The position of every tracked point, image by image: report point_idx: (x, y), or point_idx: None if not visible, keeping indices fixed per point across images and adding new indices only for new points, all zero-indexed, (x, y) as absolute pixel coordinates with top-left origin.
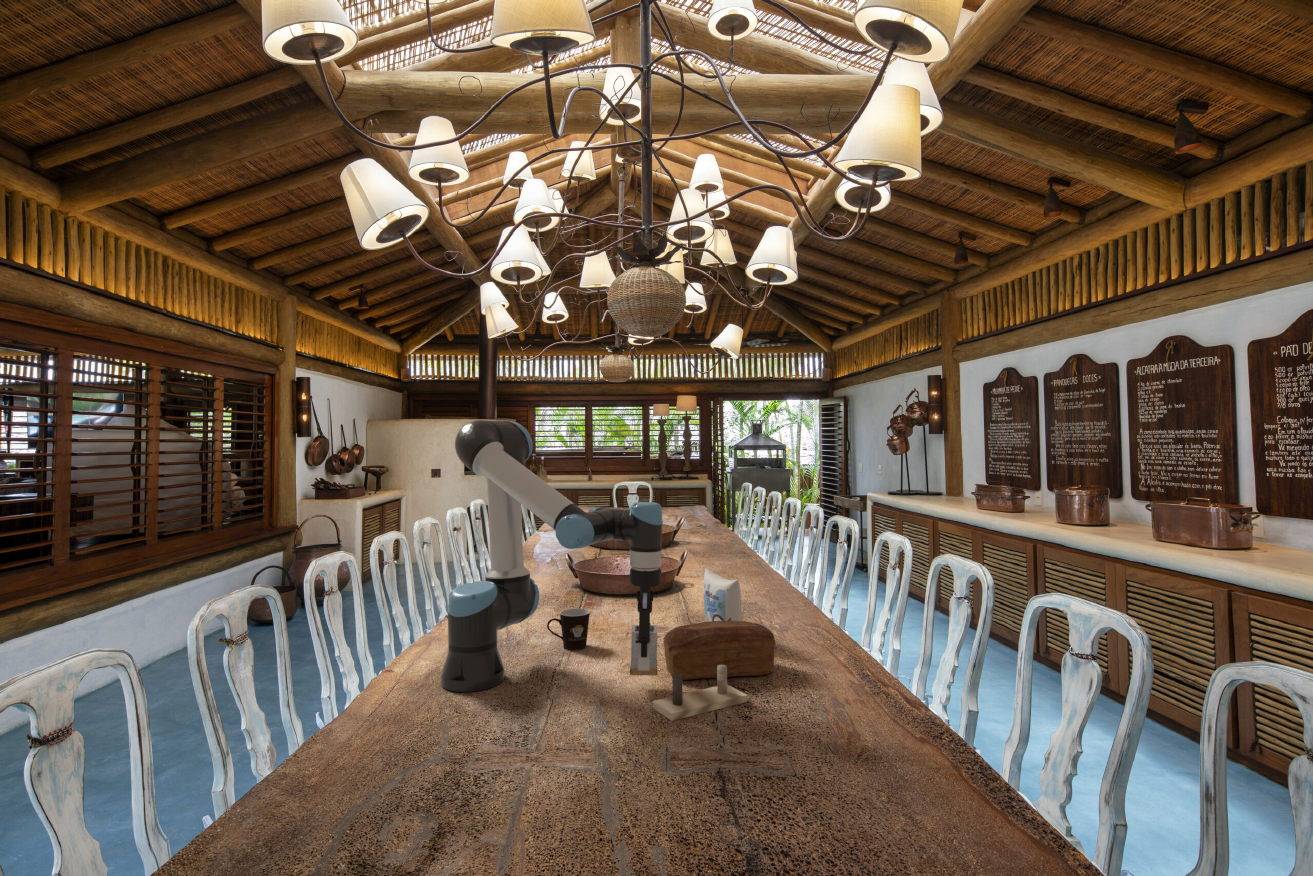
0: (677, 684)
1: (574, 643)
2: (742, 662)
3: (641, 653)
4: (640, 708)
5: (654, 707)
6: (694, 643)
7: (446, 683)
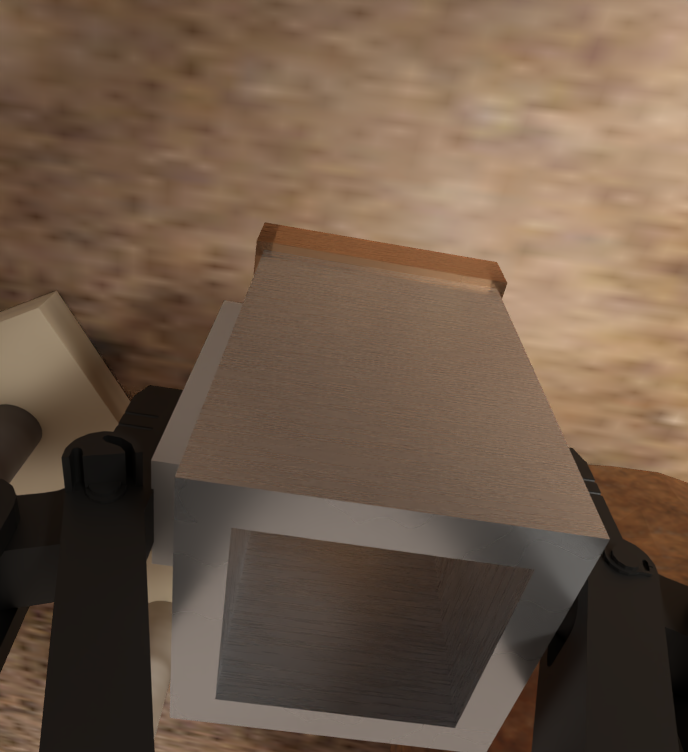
0: None
1: None
2: None
3: (124, 414)
4: (47, 218)
5: (32, 301)
6: (420, 748)
7: None
